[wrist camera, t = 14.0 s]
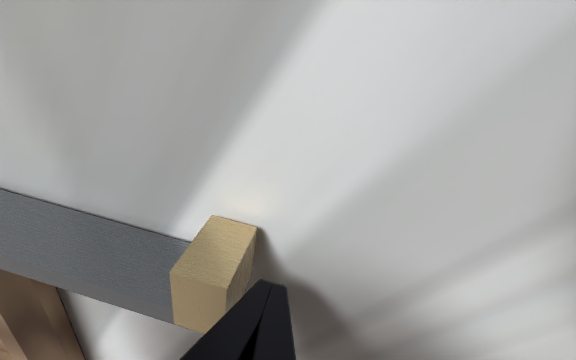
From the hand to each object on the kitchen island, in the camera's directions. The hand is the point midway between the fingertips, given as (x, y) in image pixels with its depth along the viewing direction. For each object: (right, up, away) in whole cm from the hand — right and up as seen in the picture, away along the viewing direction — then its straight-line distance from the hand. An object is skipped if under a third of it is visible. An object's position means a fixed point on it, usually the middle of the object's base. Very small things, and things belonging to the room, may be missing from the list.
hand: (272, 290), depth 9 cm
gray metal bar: (-13, +4, +2) cm, 14 cm away
